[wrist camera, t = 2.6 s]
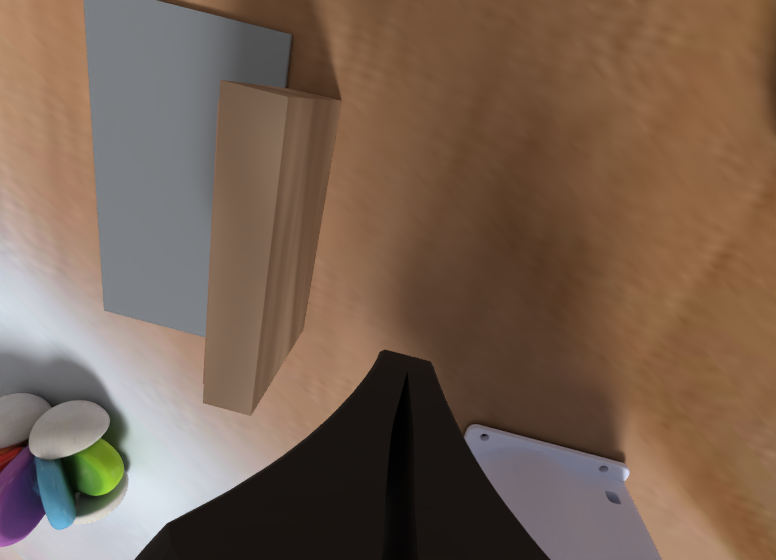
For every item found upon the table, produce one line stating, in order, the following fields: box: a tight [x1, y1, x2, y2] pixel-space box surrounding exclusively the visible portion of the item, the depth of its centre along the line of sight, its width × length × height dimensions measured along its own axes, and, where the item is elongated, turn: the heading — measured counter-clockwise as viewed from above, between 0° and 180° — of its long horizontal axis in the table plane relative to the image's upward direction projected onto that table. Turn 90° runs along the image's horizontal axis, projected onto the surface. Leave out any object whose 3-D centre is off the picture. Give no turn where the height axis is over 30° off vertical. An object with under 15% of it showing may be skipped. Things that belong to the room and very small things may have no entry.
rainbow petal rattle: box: [0, 393, 128, 547], centre depth 25 cm, size 8×10×7 cm
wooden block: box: [203, 80, 342, 416], centre depth 17 cm, size 2×12×7 cm, turn 167°
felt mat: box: [84, 0, 292, 337], centre depth 20 cm, size 9×16×1 cm, turn 167°
